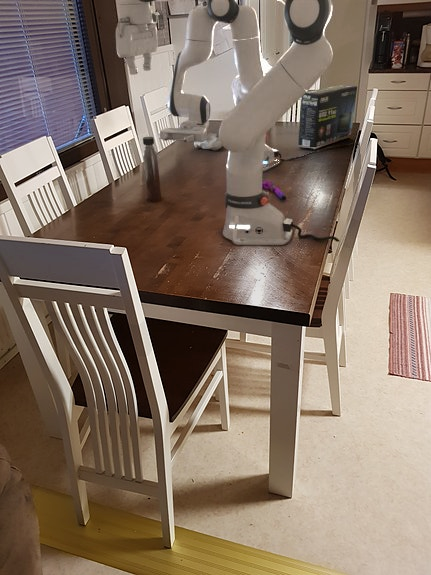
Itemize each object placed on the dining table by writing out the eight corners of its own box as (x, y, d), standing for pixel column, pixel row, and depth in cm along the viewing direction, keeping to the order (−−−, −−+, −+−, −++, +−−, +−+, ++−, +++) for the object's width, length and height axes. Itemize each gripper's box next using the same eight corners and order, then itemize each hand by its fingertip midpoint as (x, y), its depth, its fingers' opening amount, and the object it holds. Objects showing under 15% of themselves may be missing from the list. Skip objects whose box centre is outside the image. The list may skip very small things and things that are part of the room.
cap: (149, 145, 167) (148, 139, 166) (141, 144, 169) (140, 138, 168) (156, 143, 170) (155, 137, 169) (147, 142, 172) (147, 136, 170)
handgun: (253, 185, 189) (253, 181, 188) (271, 183, 190) (271, 179, 189) (267, 202, 172) (267, 197, 171) (287, 200, 173) (287, 195, 172)
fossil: (217, 145, 233) (197, 126, 236) (207, 162, 240) (188, 144, 243) (235, 143, 247) (216, 125, 250) (225, 159, 253) (207, 142, 257)
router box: (314, 151, 231) (318, 94, 217) (296, 148, 237) (299, 92, 224) (352, 138, 251) (358, 85, 238) (335, 135, 258) (340, 83, 245)
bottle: (155, 202, 177) (149, 141, 165) (145, 200, 180) (137, 139, 168) (164, 198, 181) (158, 138, 169) (153, 195, 183) (147, 136, 171)
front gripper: (128, 17, 116) (135, 76, 124) (159, 15, 133) (163, 68, 140) (106, 18, 118) (114, 76, 125) (139, 16, 135) (144, 68, 142)
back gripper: (166, 122, 200) (151, 130, 189) (209, 125, 194) (197, 132, 183) (167, 137, 203) (153, 145, 192) (210, 140, 197) (198, 148, 186)
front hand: (140, 72), depth 133 cm, fingers open, 8 cm apart
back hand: (175, 139), depth 187 cm, fingers open, 8 cm apart
